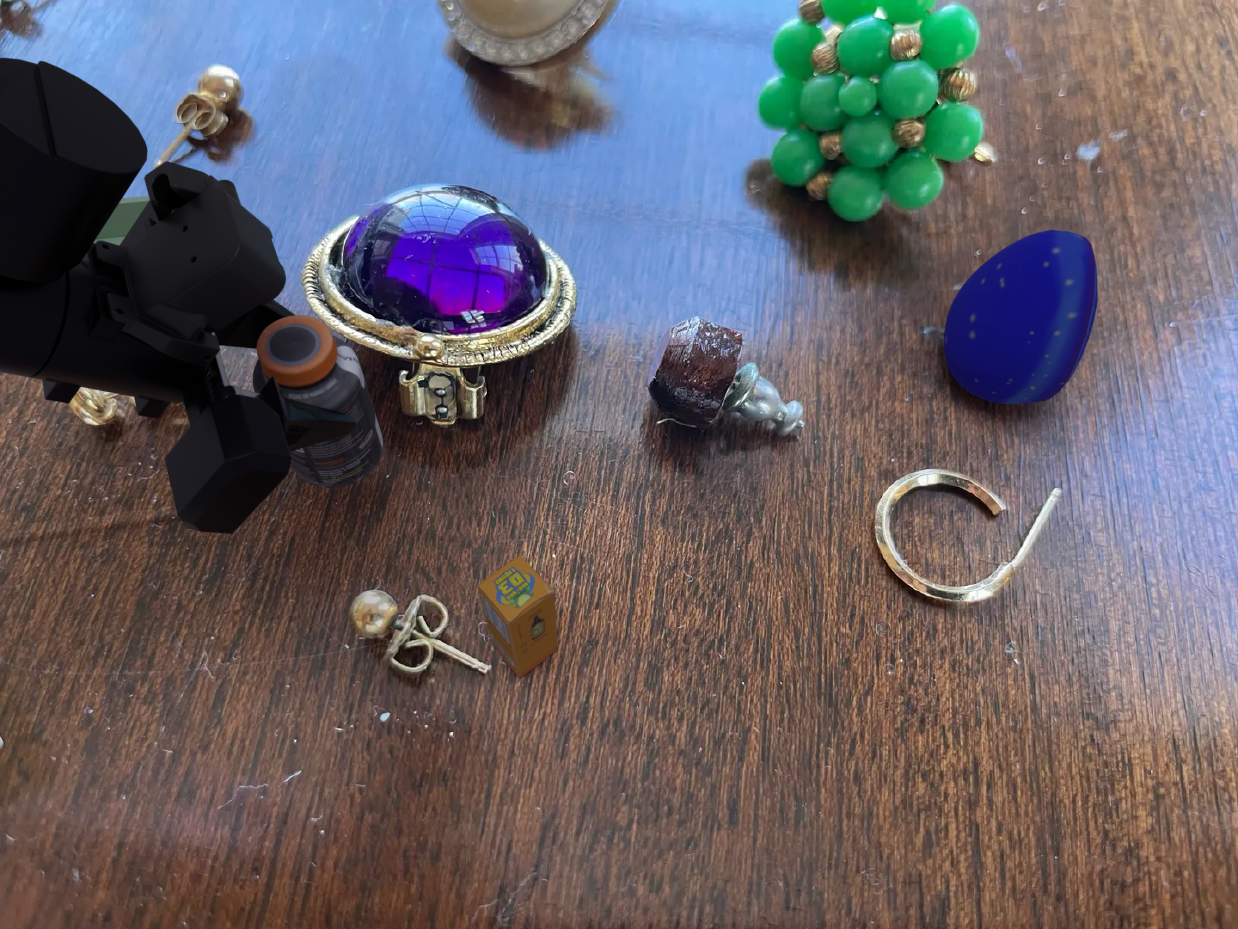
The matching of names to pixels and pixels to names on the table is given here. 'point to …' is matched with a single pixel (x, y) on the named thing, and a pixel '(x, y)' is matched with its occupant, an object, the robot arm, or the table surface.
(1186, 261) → the table surface
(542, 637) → the supplement box
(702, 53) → the table surface
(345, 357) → the pill bottle
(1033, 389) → the ornament
